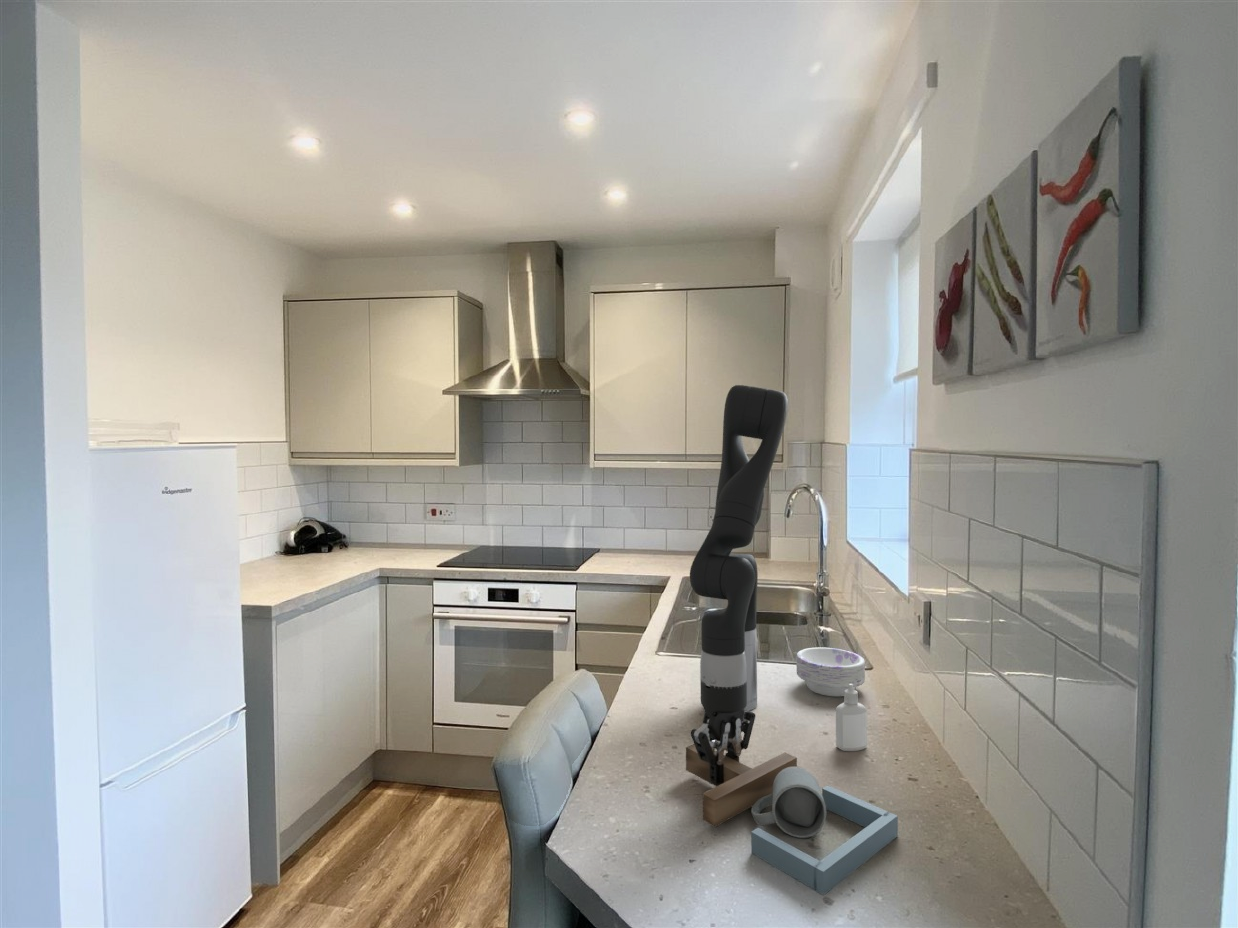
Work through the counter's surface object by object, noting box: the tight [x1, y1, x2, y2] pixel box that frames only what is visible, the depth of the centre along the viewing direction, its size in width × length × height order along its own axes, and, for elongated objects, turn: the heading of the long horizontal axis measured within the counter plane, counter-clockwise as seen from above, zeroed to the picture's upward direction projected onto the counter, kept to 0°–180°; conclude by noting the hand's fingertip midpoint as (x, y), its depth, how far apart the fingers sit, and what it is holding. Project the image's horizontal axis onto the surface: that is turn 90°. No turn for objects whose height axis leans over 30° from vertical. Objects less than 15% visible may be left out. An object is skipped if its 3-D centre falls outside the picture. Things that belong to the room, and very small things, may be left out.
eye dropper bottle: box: [835, 684, 868, 752], centre depth 123 cm, size 4×6×12 cm
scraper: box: [685, 743, 798, 828], centre depth 108 cm, size 14×20×4 cm
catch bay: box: [750, 784, 899, 896], centre depth 93 cm, size 12×19×3 cm, turn 130°
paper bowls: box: [795, 646, 866, 697], centre depth 152 cm, size 15×15×8 cm
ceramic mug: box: [750, 766, 827, 839], centre depth 99 cm, size 11×8×8 cm
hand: (724, 780), depth 107 cm, fingers closed on scraper, 3 cm apart
